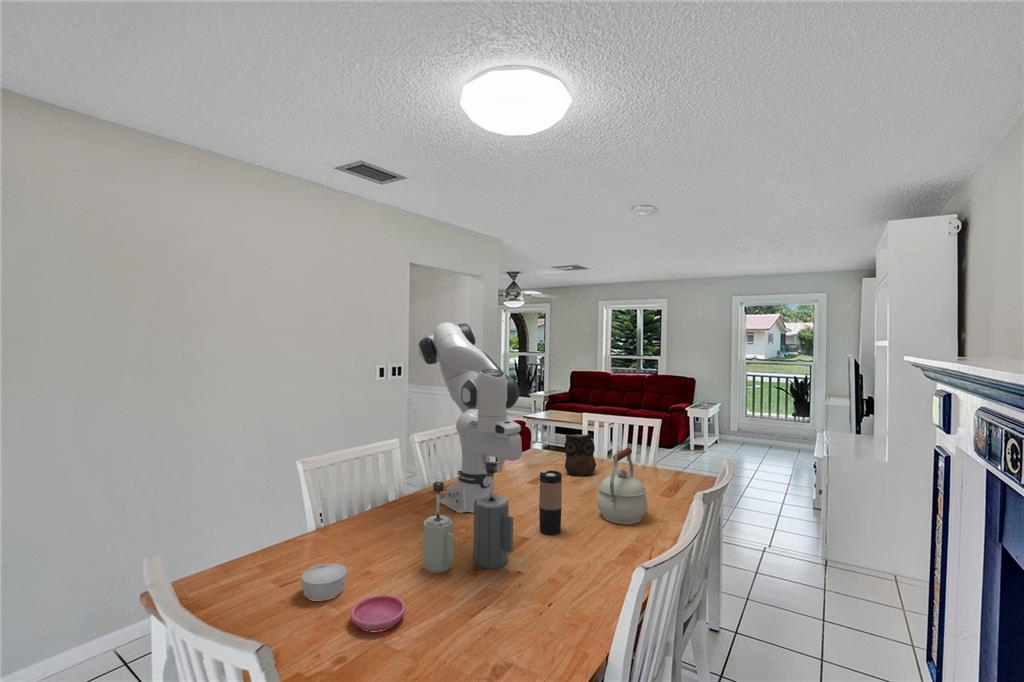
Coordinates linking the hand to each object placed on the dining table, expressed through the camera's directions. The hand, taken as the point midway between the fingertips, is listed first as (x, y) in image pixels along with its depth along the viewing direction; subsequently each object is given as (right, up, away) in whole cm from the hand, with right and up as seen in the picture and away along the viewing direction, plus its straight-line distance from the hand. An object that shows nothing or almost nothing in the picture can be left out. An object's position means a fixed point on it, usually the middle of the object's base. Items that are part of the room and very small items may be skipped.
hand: (491, 470), depth 147 cm
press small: (-15, -27, -5) cm, 31 cm away
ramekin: (-43, -27, -19) cm, 54 cm away
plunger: (0, -11, 0) cm, 11 cm away
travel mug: (+19, -27, +23) cm, 40 cm away
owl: (+40, -27, +95) cm, 106 cm away
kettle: (+48, -27, +38) cm, 67 cm away
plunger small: (-15, -13, -4) cm, 20 cm away
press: (+1, -27, -1) cm, 27 cm away
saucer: (-25, -28, -31) cm, 49 cm away
